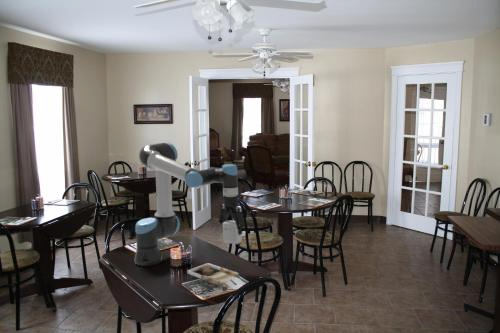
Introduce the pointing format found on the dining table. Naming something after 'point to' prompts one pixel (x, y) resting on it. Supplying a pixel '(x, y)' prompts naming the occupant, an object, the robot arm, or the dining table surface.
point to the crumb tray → (198, 269)
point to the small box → (230, 232)
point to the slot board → (220, 276)
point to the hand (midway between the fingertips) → (232, 238)
